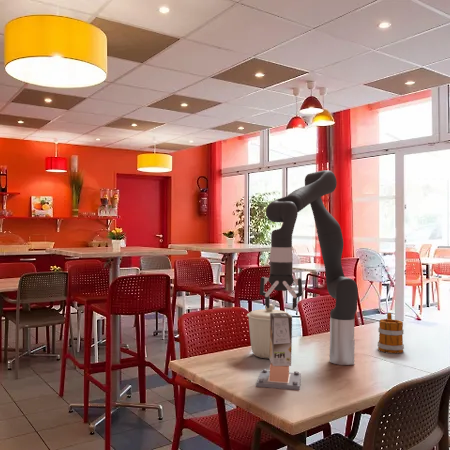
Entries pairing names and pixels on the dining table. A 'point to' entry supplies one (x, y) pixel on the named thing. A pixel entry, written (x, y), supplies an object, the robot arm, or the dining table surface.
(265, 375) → the plate
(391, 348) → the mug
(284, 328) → the coffee box
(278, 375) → the brick
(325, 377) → the dining table surface
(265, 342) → the canister
